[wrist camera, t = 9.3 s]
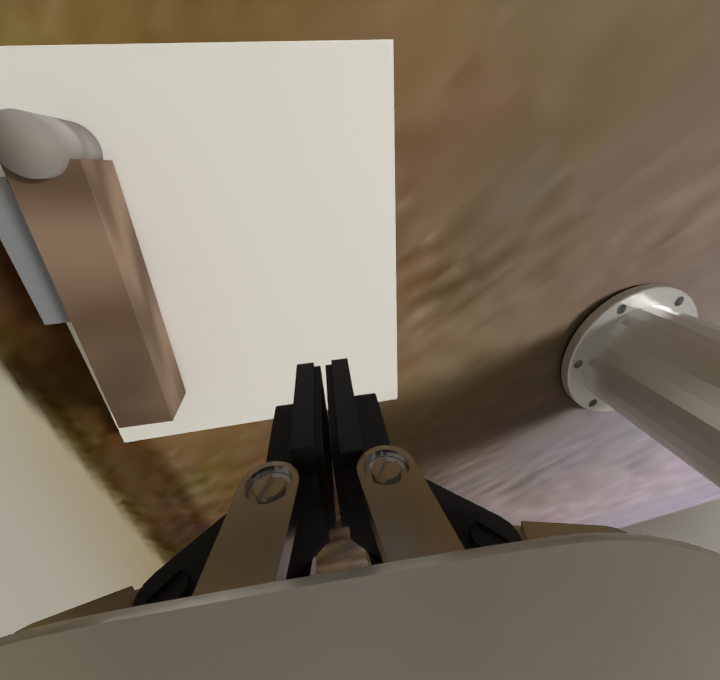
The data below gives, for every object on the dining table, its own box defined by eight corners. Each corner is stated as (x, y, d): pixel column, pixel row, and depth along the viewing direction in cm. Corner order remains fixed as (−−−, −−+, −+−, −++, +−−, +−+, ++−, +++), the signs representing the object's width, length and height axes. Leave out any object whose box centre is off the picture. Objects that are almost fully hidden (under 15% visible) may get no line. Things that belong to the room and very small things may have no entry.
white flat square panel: (383, 51, 19) (405, 24, 15) (390, 384, 29) (404, 414, 25) (-30, 60, 16) (-118, 30, 13) (135, 424, 26) (111, 463, 23)
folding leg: (28, 121, 16) (-38, 108, 13) (99, 120, 16) (52, 107, 13) (138, 398, 23) (113, 435, 20) (186, 392, 23) (169, 427, 20)
